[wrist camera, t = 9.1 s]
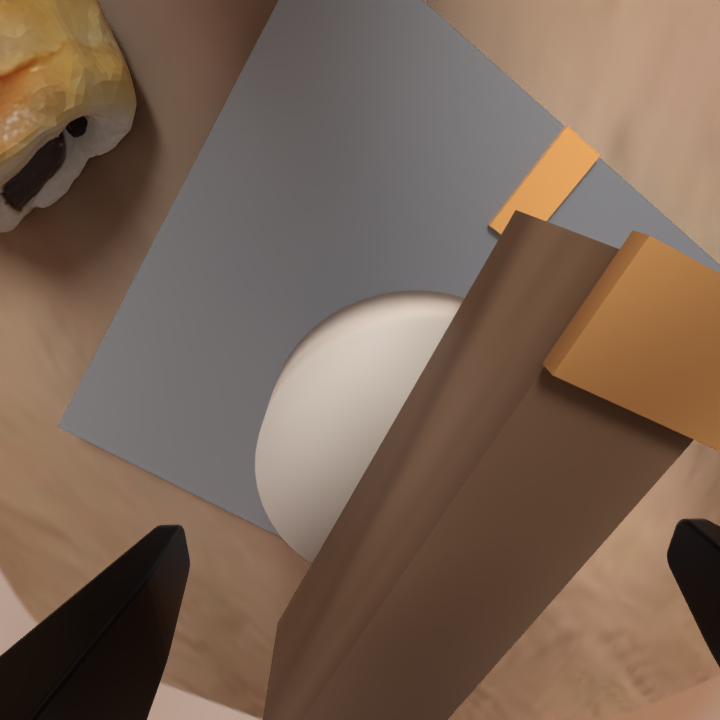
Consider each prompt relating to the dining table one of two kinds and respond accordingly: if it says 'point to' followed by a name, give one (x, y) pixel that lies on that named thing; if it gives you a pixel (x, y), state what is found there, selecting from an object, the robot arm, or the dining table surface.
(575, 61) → the dining table surface
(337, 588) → the rotary knob
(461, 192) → the plate
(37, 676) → the robot arm
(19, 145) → the pastry
